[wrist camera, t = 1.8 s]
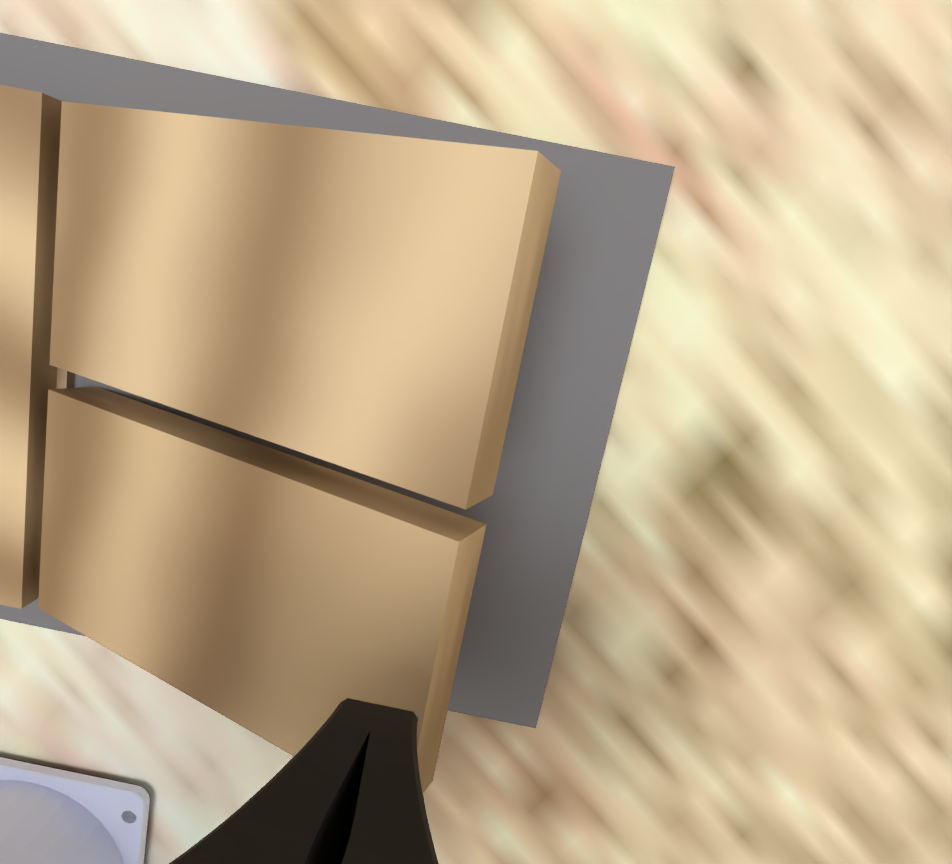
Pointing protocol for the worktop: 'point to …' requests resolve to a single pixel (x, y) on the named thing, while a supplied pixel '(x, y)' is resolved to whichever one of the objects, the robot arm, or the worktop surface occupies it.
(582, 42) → the worktop surface
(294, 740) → the oak plank
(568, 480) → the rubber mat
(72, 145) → the oak plank
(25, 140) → the oak panel
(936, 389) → the worktop surface
